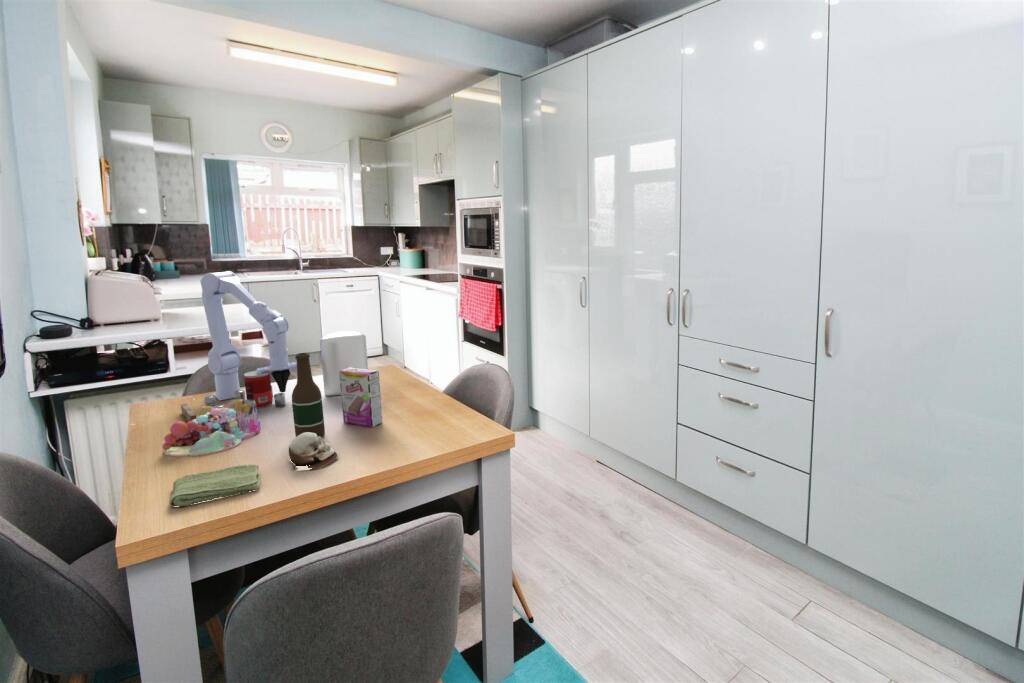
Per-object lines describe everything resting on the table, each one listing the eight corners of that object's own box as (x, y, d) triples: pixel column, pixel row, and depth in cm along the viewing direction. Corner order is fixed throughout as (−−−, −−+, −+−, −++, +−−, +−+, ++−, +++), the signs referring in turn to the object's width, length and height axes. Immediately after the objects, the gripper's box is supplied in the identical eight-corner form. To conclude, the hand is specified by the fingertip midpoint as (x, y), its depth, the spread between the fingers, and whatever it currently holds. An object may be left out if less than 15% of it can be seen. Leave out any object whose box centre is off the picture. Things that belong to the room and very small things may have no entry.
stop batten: (182, 413, 176) (180, 404, 176) (187, 412, 177) (186, 403, 177) (191, 425, 164) (190, 416, 164) (197, 424, 165) (196, 415, 165)
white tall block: (341, 384, 206) (336, 327, 202) (377, 385, 204) (373, 327, 200) (322, 396, 191) (316, 335, 187) (361, 397, 189) (356, 335, 185)
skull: (327, 443, 145) (334, 422, 138) (338, 478, 140) (345, 458, 133) (279, 452, 139) (284, 431, 132) (288, 489, 134) (293, 469, 127)
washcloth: (262, 493, 121) (261, 479, 120) (169, 513, 113) (167, 498, 112) (259, 471, 132) (257, 458, 132) (174, 488, 124) (172, 474, 124)
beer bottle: (297, 444, 147) (288, 358, 142) (294, 435, 154) (285, 352, 149) (327, 439, 151) (319, 354, 146) (323, 430, 157) (315, 349, 153)
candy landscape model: (174, 431, 161) (169, 401, 159) (261, 419, 170) (258, 390, 168) (158, 463, 138) (152, 428, 136) (260, 447, 147) (256, 414, 145)
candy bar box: (342, 423, 163) (337, 370, 160) (353, 418, 168) (349, 366, 164) (372, 428, 159) (368, 373, 155) (383, 423, 163) (379, 369, 160)
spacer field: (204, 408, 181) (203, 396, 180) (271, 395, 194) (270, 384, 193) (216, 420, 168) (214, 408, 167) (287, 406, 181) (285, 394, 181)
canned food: (277, 400, 187) (273, 369, 185) (264, 408, 180) (260, 375, 177) (256, 400, 188) (252, 369, 186) (242, 408, 180) (238, 375, 178)
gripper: (259, 358, 178) (263, 398, 181) (304, 351, 187) (307, 389, 190) (253, 355, 183) (257, 393, 186) (297, 348, 192) (300, 385, 195)
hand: (282, 391), depth 188 cm, fingers closed
